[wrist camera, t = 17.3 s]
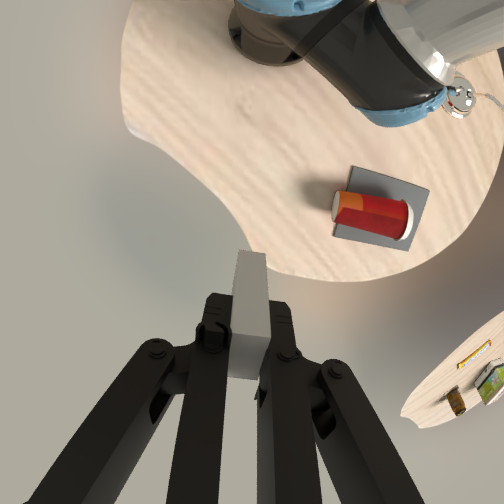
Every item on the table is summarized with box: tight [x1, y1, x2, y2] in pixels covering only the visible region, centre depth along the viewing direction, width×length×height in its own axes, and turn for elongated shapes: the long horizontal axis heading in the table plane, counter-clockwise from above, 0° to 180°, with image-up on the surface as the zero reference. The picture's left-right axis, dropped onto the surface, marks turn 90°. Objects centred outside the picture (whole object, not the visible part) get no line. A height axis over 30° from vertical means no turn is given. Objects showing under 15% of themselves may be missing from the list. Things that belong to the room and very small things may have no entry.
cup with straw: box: [439, 71, 504, 118], centre depth 30 cm, size 8×9×20 cm
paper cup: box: [331, 191, 413, 241], centre depth 46 cm, size 8×8×14 cm
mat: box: [334, 166, 430, 251], centre depth 50 cm, size 18×14×1 cm
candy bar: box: [459, 340, 492, 369], centre depth 73 cm, size 17×4×2 cm, turn 130°
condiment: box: [444, 385, 466, 416], centre depth 80 cm, size 7×8×12 cm
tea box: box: [474, 358, 504, 405], centre depth 75 cm, size 15×10×15 cm
